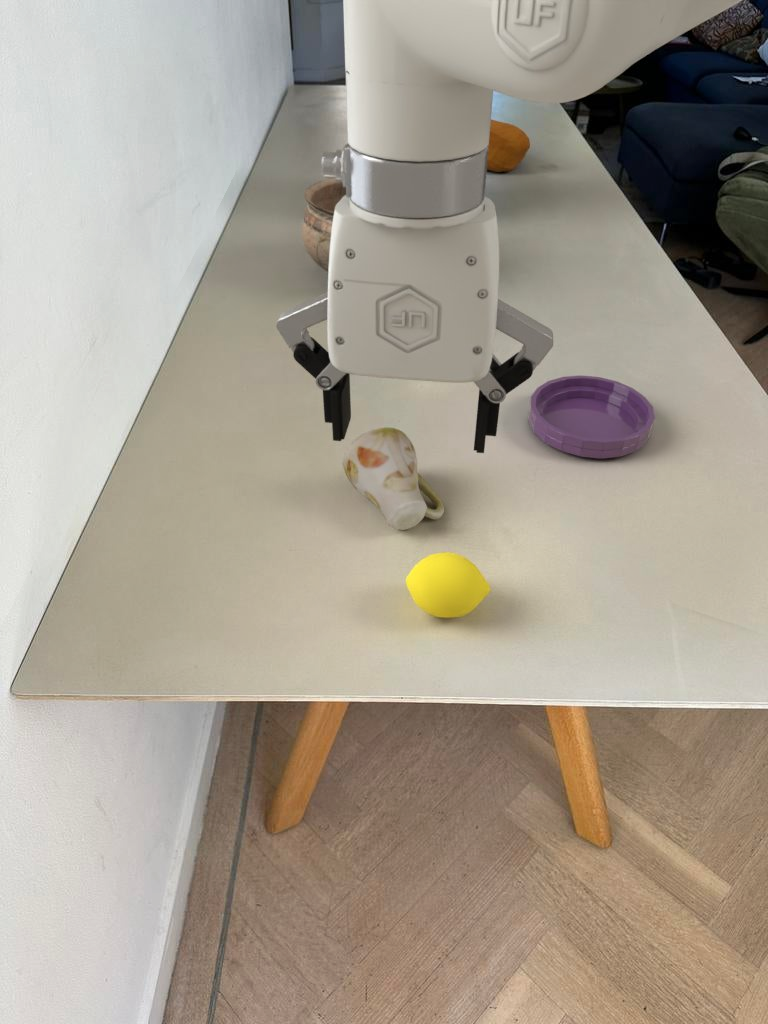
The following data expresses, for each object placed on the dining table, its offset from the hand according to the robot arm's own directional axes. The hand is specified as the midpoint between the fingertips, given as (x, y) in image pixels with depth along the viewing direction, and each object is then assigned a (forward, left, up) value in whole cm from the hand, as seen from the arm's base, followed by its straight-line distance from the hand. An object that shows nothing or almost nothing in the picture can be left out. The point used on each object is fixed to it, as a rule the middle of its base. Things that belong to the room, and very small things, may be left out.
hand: (410, 435), depth 53 cm
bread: (+40, -119, -18) cm, 127 cm away
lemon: (-3, -1, -18) cm, 18 cm away
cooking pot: (+35, -57, -18) cm, 70 cm away
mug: (+7, -11, -18) cm, 22 cm away
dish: (-6, -33, -18) cm, 38 cm away
